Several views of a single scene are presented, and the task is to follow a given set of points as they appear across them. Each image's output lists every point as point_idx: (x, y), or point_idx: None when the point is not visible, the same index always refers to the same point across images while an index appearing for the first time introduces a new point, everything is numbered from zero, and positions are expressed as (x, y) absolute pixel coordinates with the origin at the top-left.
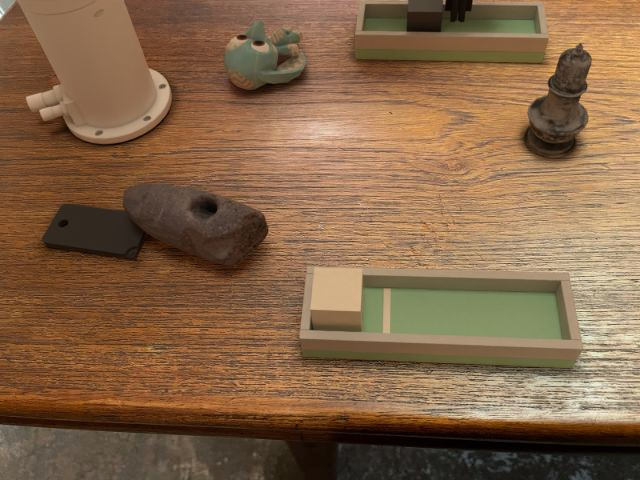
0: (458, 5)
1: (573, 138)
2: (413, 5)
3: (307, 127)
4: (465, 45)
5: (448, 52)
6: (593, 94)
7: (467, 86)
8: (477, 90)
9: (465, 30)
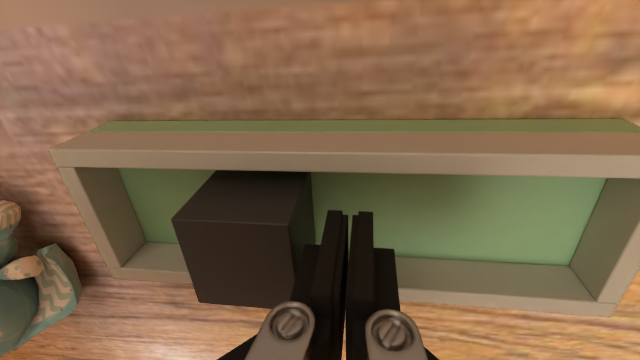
0: (344, 319)
1: None
2: (206, 282)
3: (152, 350)
4: None
5: None
6: (636, 333)
7: None
8: None
9: (382, 198)
